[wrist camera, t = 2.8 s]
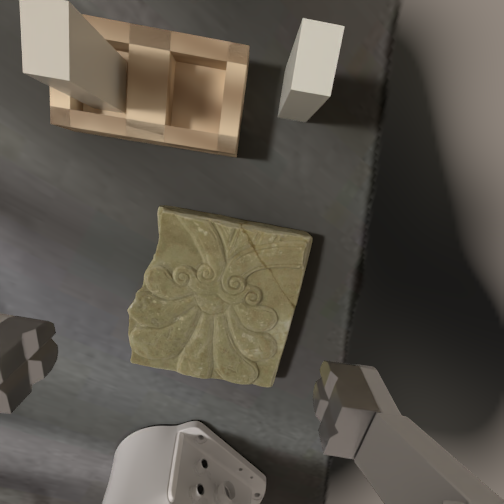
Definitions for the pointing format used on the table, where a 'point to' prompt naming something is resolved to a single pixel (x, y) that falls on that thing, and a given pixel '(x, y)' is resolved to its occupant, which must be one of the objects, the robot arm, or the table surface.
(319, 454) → the table surface
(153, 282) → the decorative tile
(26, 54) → the white upright prism
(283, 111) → the white rectangular block
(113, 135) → the rack
